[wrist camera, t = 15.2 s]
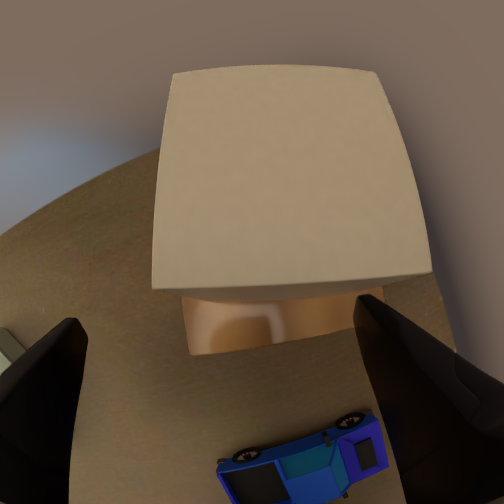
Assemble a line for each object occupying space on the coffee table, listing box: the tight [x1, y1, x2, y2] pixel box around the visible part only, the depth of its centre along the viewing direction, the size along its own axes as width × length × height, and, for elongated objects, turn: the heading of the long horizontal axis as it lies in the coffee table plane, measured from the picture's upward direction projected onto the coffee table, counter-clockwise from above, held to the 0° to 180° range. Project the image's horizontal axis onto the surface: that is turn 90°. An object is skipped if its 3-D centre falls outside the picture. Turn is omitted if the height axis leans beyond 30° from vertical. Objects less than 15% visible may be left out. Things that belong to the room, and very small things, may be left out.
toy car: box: [216, 409, 389, 504], centre depth 15 cm, size 7×12×5 cm, turn 109°
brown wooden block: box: [181, 286, 385, 356], centre depth 17 cm, size 10×10×7 cm
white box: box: [152, 65, 432, 303], centre depth 10 cm, size 6×6×8 cm
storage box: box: [0, 328, 26, 375], centre depth 17 cm, size 10×9×4 cm
